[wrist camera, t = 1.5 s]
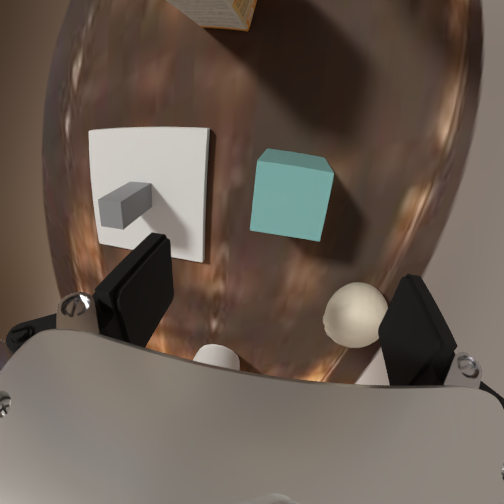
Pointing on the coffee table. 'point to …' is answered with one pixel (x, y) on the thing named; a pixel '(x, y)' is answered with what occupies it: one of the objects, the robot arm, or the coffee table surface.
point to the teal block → (291, 194)
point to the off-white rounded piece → (355, 315)
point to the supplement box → (218, 12)
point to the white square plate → (151, 186)
